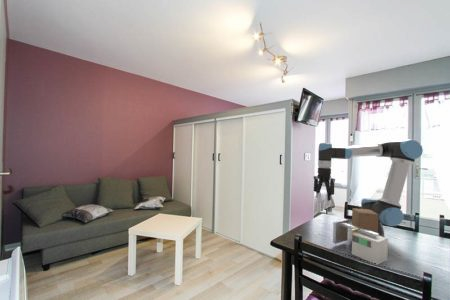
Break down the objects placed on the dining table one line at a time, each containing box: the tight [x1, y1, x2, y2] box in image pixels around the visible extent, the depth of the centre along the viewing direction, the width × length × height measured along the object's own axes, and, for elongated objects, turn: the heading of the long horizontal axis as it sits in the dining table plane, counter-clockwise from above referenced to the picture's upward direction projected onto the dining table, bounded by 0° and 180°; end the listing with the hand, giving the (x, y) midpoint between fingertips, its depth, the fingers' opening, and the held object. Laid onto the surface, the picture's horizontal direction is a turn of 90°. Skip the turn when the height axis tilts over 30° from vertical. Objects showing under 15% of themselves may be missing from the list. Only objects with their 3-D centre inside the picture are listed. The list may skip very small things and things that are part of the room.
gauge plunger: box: [332, 218, 379, 245], centre depth 113 cm, size 13×20×12 cm, turn 30°
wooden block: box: [351, 207, 378, 233], centre depth 122 cm, size 10×10×20 cm
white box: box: [351, 231, 389, 265], centre depth 108 cm, size 10×12×11 cm
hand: (323, 204), depth 131 cm, fingers open, 5 cm apart
